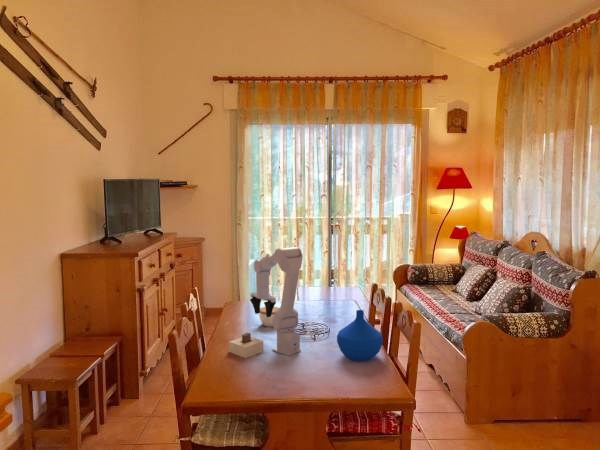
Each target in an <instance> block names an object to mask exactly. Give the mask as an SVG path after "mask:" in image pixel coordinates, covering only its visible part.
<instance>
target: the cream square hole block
mask: <svg viewBox="0 0 600 450" xmlns="http://www.w3.org/2000/svg"><path fill="white" fill-rule="evenodd" d="M228 344H229V349H228V350H229V353H231V354H234V355H236V356H239V357H242V358H243V359H247V358H249V357H252V356H255V355H257V354H261V353H263V352H264V340H261V339H258V338H256V337H252V336H251V342H248V343H245V344H244V343H242V337H239V338H236V339H233V340H230V341H229V342H228Z"/></svg>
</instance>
